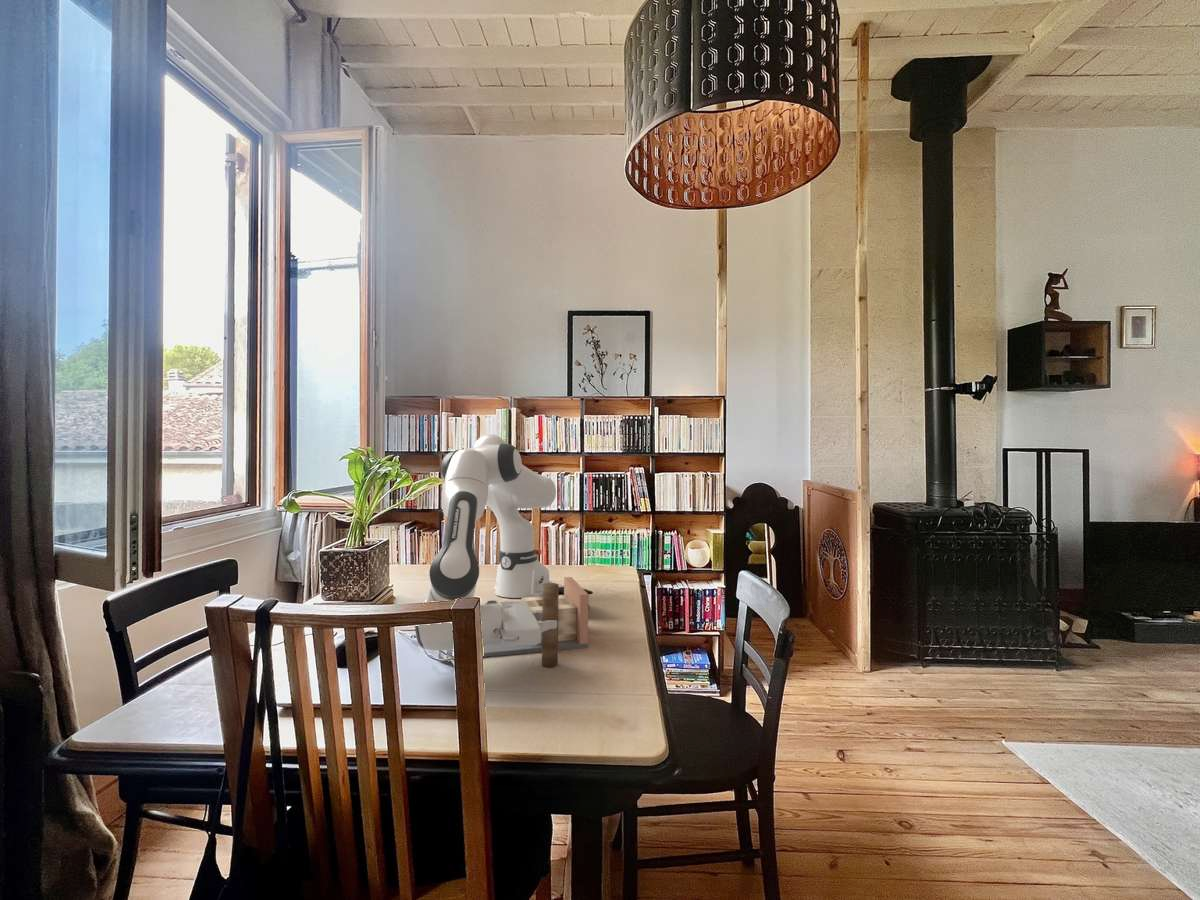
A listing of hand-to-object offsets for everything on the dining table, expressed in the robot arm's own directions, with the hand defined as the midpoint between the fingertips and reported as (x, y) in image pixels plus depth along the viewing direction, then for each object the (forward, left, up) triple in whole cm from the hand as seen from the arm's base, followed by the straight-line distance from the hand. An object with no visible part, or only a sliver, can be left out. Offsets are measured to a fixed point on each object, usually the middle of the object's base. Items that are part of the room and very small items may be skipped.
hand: (554, 619), depth 128 cm
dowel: (+1, -1, -10) cm, 10 cm away
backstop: (-10, -14, -10) cm, 20 cm away
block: (-13, -11, -9) cm, 19 cm away
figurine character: (-35, -17, -10) cm, 41 cm away
